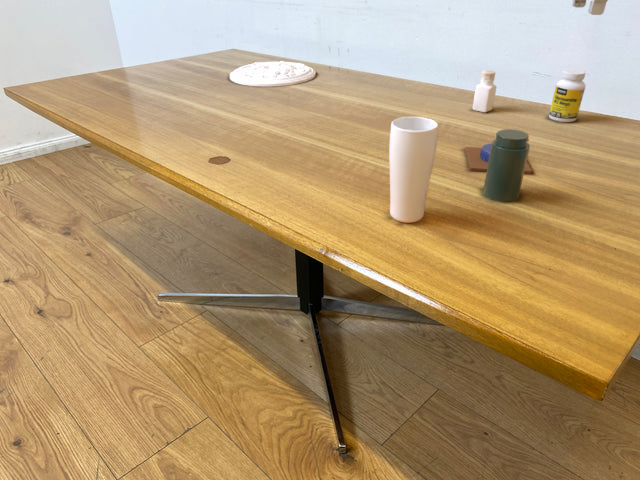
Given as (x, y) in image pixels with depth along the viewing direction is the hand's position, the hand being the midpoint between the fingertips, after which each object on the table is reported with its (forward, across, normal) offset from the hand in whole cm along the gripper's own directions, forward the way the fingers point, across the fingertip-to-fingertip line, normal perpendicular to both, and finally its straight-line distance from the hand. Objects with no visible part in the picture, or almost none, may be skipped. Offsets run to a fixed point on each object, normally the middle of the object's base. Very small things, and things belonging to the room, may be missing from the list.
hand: (586, 10), depth 78 cm
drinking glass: (+27, +23, -26) cm, 44 cm away
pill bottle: (+27, -31, +10) cm, 42 cm away
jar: (+27, +13, -10) cm, 32 cm away
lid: (+25, -2, -9) cm, 27 cm away
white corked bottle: (+27, -36, -8) cm, 46 cm away
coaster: (+27, -2, -9) cm, 29 cm away
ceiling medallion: (+27, -67, -71) cm, 101 cm away
